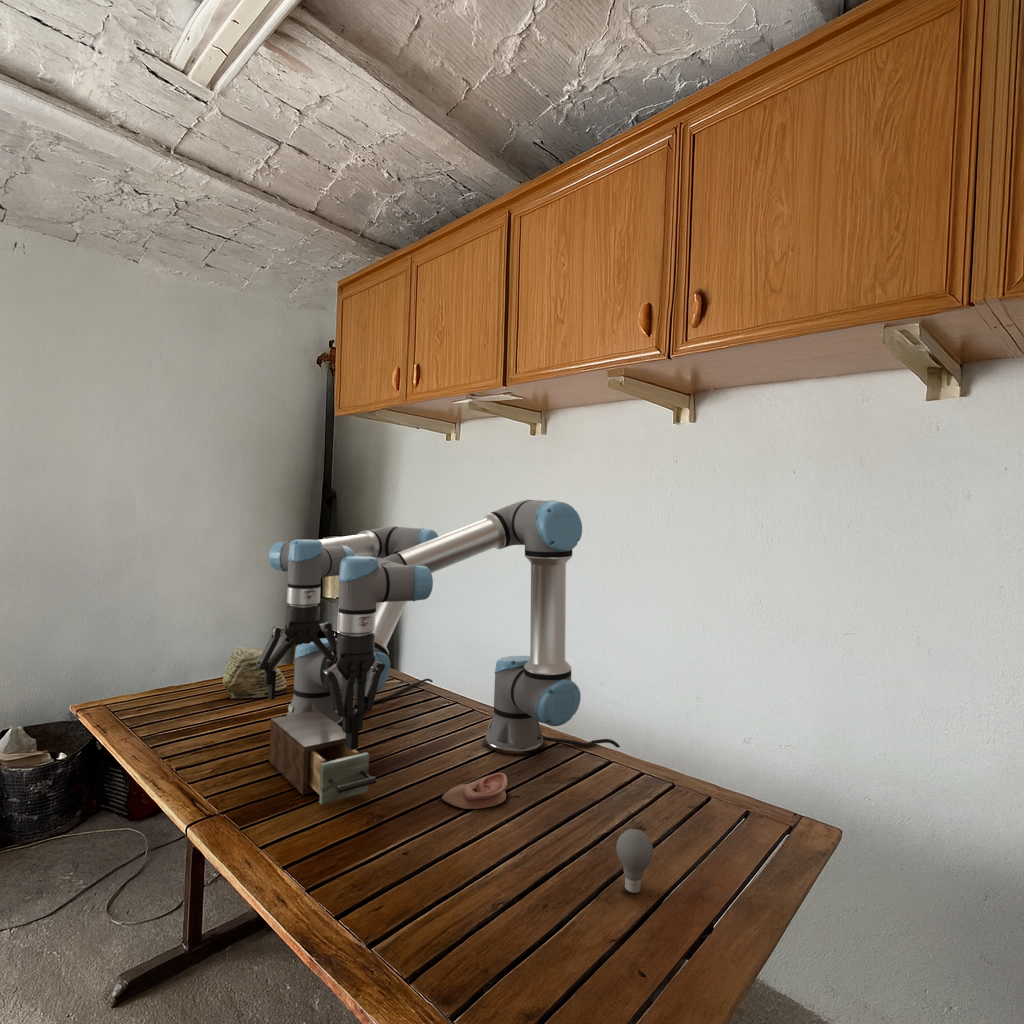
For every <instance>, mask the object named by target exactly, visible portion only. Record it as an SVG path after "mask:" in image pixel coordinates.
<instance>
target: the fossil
mask: <svg viewBox="0 0 1024 1024" xmlns="http://www.w3.org/2000/svg"><path fill="white" fill-rule="evenodd" d="M263 650H264V648H260V647H258V648H251V647H247V646H246V647H245V646H238V647H237V648H236V649H235V650H233V651H232V653H231V656H230V657H229V659H228V660H227V663H226V666H225V668H224V671H223V675H222V676H223V677H222V685H223V687H224V688H225V690H226V691H228V693H229V698H230V699H250V698H264V697H268V685H266V684H265V682H264V673H265V671H264V670H261V669H259V668H258V667H257V666H256V664H257V662H258V660H259V658H260V656H261V654H262V652H263ZM273 670H275V671H276V684H275V696H276V695H281V694H284V693H285V691H286V689H287V687H288V686H287V680H286V678H285V676H284V674H283V673H282V672H281V669H279V668H278V667H277V665H276V666H275V667H274V669H273Z"/></svg>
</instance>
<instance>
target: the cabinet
mask: <svg viewBox="0 0 1024 1024" xmlns="http://www.w3.org/2000/svg"><path fill="white" fill-rule="evenodd" d="M342 743H346V733H345V732H343V730H342V725H338V724H336V723H335V722H334V721H332V720H331V719H329V718H328V717H327V716H325V715H324V714H322V713H321V712H319V711H318V710H315V711H309V712H304V713H299V714H293V715H288V716H286V715H284V716H278V717H272V718H270V732H269V758H268V761H269V762H270V764H271V765H272V766H273V767H274V768H275V769H276V770H277V771H278V773H280V774H281V775H282V776H283V777H284V778H285V779H286V780H287V781H288V782H289V783H290V784H291V785H292V786H293V787H294V788H295V789H296V790H297V791H298V792H299V793H300V794H301V795H302V796H304V795H307V794H311V793H316V791H315V790H314V789H313V788H312V787H311V786H309V785H308V766H309V751H311V750H315V749H320V748H324V747H329V746H333V745H338V744H342Z"/></svg>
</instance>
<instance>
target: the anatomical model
mask: <svg viewBox="0 0 1024 1024" xmlns="http://www.w3.org/2000/svg"><path fill="white" fill-rule="evenodd" d="M507 786H508V778H507V775H506V774H505V773H503V772H496V773H492V774H488V775H485V776H484V777H481V778H478V779H476V780H474V781H471V782H468V783H462V784H459V785H455V786H454V787H452V788H450V789H449V790H447V791H446V792H445V793H444V794H443V795H442V796H441V799H442V801H443V802H445V803H446V804H449V805H450V806H454V807H456V808H460V809H464V810H476V809H485V808H490V807H495V806H498V805H500V804H502V803H504V802H505V801H506V799H507V794H506V789H507Z"/></svg>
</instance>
